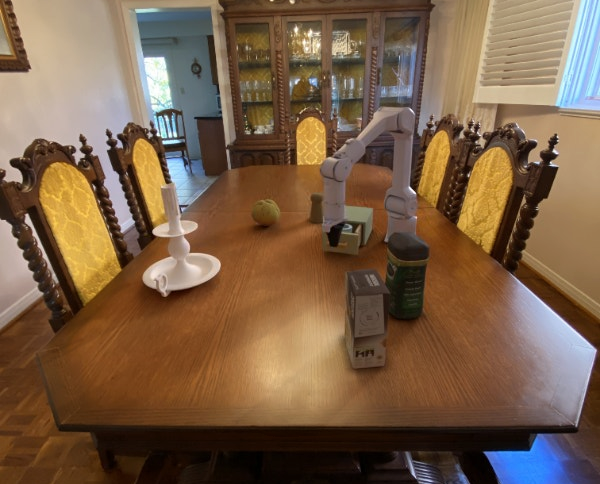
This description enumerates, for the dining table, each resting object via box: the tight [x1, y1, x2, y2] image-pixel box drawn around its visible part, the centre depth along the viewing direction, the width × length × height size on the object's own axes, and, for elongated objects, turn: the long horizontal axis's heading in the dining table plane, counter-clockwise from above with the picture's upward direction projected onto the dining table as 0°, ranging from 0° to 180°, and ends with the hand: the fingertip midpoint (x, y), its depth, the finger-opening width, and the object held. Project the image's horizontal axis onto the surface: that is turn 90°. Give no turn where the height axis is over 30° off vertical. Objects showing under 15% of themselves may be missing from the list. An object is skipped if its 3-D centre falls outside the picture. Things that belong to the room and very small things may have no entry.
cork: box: [309, 192, 324, 224], centre depth 136 cm, size 6×6×11 cm
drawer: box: [321, 222, 363, 256], centre depth 111 cm, size 18×11×7 cm, turn 160°
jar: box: [342, 224, 352, 233], centre depth 112 cm, size 5×5×6 cm
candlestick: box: [141, 182, 221, 298], centre depth 90 cm, size 21×25×28 cm
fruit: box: [250, 198, 281, 227], centre depth 132 cm, size 11×12×10 cm
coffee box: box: [343, 268, 390, 369], centre depth 66 cm, size 9×6×16 cm
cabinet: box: [345, 205, 374, 247], centre depth 121 cm, size 15×13×8 cm
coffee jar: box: [384, 231, 430, 320], centre depth 78 cm, size 10×8×19 cm
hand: (333, 246), depth 101 cm, fingers closed
